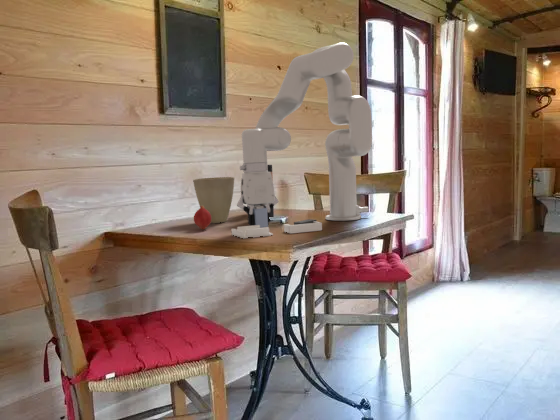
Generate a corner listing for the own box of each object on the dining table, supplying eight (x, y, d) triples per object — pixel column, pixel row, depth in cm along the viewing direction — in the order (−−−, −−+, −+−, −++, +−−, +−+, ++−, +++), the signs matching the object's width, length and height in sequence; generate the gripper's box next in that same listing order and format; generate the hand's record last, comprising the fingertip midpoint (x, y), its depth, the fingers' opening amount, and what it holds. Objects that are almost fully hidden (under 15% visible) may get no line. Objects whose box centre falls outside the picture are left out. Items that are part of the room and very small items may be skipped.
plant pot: (232, 218, 220) (230, 176, 218) (240, 222, 205) (238, 177, 204) (192, 221, 216) (190, 178, 214) (198, 225, 201) (195, 179, 200)
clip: (315, 228, 184) (315, 221, 184) (322, 230, 180) (321, 222, 180) (284, 231, 179) (284, 224, 179) (290, 233, 176) (289, 225, 175)
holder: (262, 232, 180) (261, 224, 180) (272, 235, 173) (272, 227, 173) (231, 235, 176) (231, 227, 176) (241, 238, 169) (241, 230, 169)
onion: (192, 229, 193) (191, 205, 192) (209, 227, 195) (207, 204, 194) (196, 231, 187) (195, 206, 186) (214, 229, 189) (212, 205, 189)
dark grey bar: (309, 228, 187) (308, 219, 187) (316, 229, 185) (316, 219, 185) (291, 232, 180) (291, 222, 179) (299, 232, 178) (299, 223, 178)
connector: (262, 225, 188) (260, 205, 188) (268, 226, 184) (266, 206, 183) (250, 226, 187) (249, 206, 186) (256, 228, 182) (255, 207, 181)
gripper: (234, 170, 176) (238, 230, 178) (284, 166, 183) (287, 223, 185) (226, 170, 183) (230, 227, 185) (275, 166, 190) (278, 221, 192)
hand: (259, 224), depth 185 cm, fingers closed on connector, 4 cm apart
